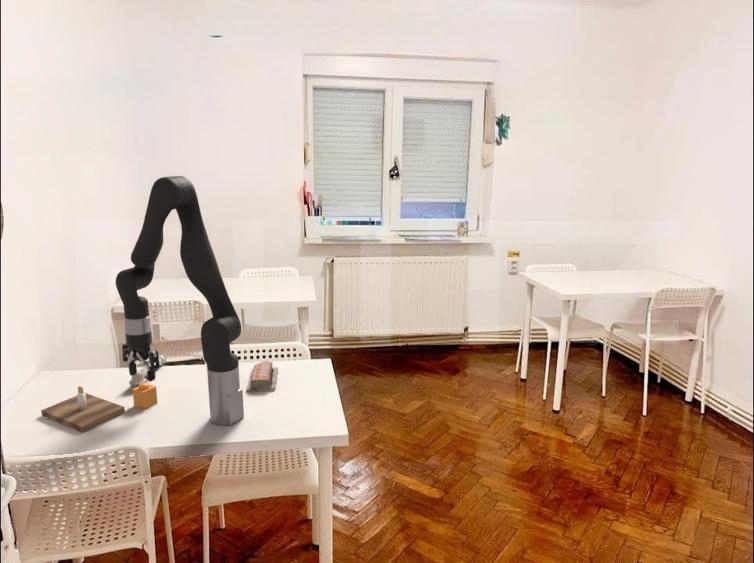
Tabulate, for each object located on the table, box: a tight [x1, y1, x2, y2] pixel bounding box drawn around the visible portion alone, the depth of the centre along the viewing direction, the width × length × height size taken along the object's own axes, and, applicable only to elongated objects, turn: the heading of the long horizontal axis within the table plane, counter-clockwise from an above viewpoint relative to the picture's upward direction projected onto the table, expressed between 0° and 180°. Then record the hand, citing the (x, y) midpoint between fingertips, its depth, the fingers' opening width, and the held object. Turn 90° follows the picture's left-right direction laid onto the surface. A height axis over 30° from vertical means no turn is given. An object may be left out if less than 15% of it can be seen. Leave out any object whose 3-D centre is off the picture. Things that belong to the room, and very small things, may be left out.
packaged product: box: [246, 360, 279, 393], centre depth 190 cm, size 18×5×10 cm
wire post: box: [76, 385, 87, 410], centre depth 163 cm, size 2×2×7 cm
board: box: [41, 392, 126, 433], centre depth 164 cm, size 20×14×2 cm
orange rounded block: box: [131, 381, 158, 410], centre depth 171 cm, size 5×5×7 cm
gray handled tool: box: [128, 354, 167, 391], centre depth 191 cm, size 5×7×25 cm
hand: (142, 377), depth 169 cm, fingers open, 8 cm apart
